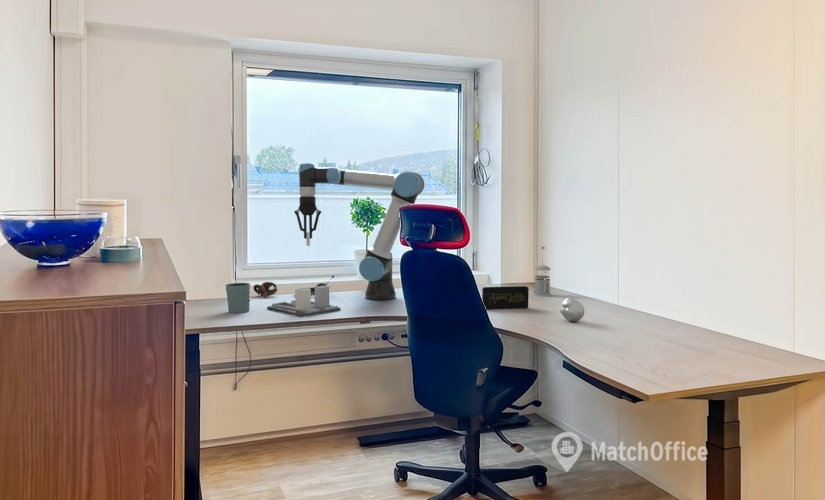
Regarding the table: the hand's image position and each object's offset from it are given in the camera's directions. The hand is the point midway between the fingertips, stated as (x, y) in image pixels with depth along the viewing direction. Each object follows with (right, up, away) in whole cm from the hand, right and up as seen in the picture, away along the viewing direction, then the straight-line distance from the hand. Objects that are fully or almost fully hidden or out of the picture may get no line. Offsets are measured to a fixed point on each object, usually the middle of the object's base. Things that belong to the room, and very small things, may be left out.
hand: (308, 245), depth 285 cm
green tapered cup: (-25, -29, -28) cm, 47 cm away
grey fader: (+10, -27, -24) cm, 37 cm away
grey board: (+2, -28, -23) cm, 37 cm away
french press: (+117, -25, +20) cm, 121 cm away
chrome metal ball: (+114, -31, -47) cm, 127 cm away
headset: (0, -26, +17) cm, 31 cm away
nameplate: (+91, -29, -19) cm, 98 cm away
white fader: (+3, -28, -31) cm, 41 cm away
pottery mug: (-24, -26, +13) cm, 37 cm away
